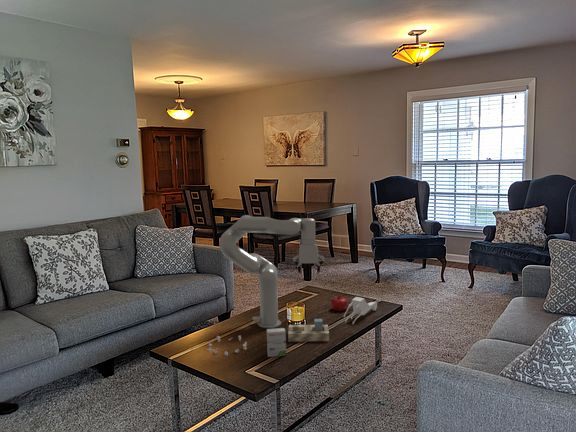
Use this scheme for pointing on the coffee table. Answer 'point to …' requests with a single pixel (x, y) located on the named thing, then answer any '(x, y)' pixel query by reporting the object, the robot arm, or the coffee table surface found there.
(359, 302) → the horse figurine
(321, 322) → the grey rectangular block
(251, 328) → the coffee table surface
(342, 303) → the pomegranate
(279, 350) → the ink box
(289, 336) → the socket block
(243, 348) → the game piece set
